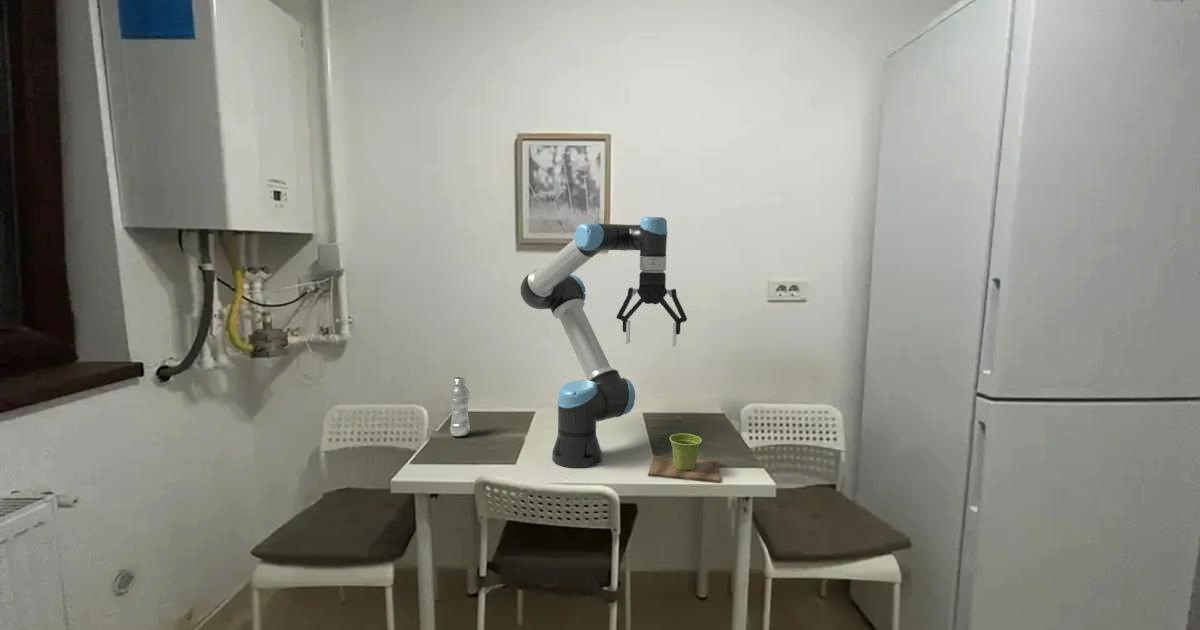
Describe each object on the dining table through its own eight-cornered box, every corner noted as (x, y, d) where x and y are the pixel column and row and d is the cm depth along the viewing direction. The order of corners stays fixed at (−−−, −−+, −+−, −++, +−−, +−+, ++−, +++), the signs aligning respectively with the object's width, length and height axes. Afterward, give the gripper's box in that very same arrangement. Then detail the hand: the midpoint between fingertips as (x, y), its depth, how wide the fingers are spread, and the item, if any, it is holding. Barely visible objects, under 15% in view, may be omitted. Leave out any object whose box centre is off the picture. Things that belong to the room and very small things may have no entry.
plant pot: (705, 465, 169) (706, 437, 168) (693, 476, 161) (694, 446, 160) (676, 459, 174) (676, 431, 173) (663, 469, 166) (664, 440, 165)
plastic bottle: (446, 437, 192) (445, 379, 190) (457, 431, 199) (456, 375, 196) (463, 439, 191) (462, 381, 188) (473, 433, 197) (472, 376, 195)
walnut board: (647, 475, 163) (648, 473, 162) (653, 458, 176) (653, 455, 176) (719, 482, 158) (719, 480, 158) (719, 464, 172) (719, 461, 172)
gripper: (607, 271, 162) (606, 344, 165) (696, 273, 157) (693, 348, 160) (612, 270, 170) (611, 340, 172) (697, 271, 164) (694, 344, 167)
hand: (650, 344), depth 166 cm, fingers open, 13 cm apart
